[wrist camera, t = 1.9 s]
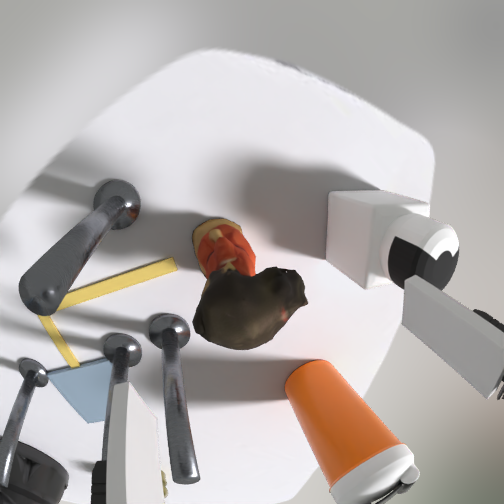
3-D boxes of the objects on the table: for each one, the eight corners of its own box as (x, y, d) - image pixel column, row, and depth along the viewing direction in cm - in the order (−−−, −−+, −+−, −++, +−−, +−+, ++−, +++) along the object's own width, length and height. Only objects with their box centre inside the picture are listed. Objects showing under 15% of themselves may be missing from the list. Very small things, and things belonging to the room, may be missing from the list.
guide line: (72, 367, 25) (72, 369, 25) (33, 305, 22) (33, 307, 22) (201, 330, 28) (202, 332, 27) (172, 256, 24) (172, 258, 24)
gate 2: (33, 385, 24) (3, 491, 10) (15, 361, 23) (-27, 467, 8) (148, 358, 27) (154, 499, 13) (131, 329, 25) (121, 477, 11)
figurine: (216, 200, 24) (257, 244, 13) (264, 238, 26) (330, 302, 15) (171, 259, 24) (176, 343, 14) (220, 291, 27) (257, 381, 16)
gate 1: (159, 351, 27) (170, 494, 13) (89, 189, 20) (-24, 256, 6) (195, 340, 28) (229, 482, 13) (132, 172, 21) (61, 212, 7)
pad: (88, 419, 28) (87, 423, 27) (48, 372, 24) (46, 375, 24) (146, 409, 29) (146, 412, 29) (109, 357, 26) (108, 360, 25)
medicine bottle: (377, 252, 30) (456, 298, 20) (324, 261, 29) (401, 321, 18) (383, 189, 28) (474, 217, 17) (327, 190, 26) (420, 221, 15)
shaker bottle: (268, 376, 32) (343, 519, 14) (333, 341, 33) (435, 461, 15) (287, 411, 36) (350, 526, 18) (343, 381, 37) (421, 483, 19)
